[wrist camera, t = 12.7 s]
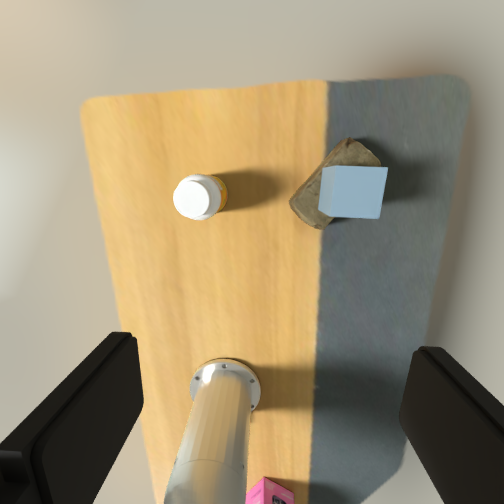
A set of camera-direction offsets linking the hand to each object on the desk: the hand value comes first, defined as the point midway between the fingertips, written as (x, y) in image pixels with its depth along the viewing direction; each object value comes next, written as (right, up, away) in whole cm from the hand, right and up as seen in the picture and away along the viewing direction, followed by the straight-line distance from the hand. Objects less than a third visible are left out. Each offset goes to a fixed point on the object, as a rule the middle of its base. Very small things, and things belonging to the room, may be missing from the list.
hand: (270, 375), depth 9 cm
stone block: (+10, +14, +28) cm, 32 cm away
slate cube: (+10, +12, +23) cm, 27 cm away
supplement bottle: (-7, +13, +28) cm, 32 cm away
